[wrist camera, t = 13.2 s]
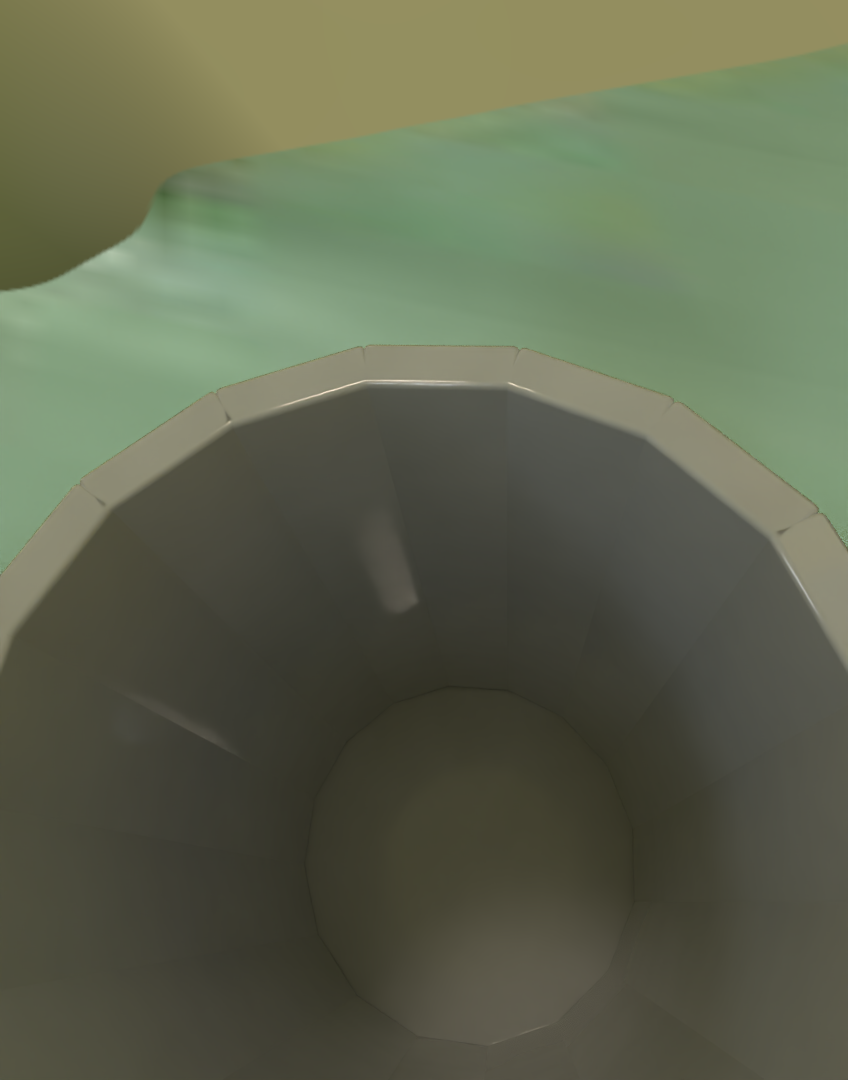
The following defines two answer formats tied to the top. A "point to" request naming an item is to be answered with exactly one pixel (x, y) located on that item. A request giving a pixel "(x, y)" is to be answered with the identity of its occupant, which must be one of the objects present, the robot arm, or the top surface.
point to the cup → (426, 741)
